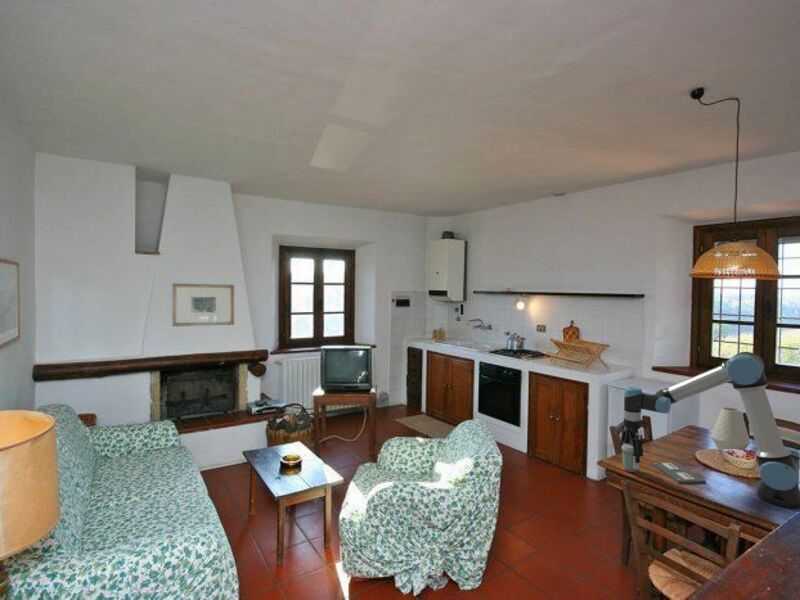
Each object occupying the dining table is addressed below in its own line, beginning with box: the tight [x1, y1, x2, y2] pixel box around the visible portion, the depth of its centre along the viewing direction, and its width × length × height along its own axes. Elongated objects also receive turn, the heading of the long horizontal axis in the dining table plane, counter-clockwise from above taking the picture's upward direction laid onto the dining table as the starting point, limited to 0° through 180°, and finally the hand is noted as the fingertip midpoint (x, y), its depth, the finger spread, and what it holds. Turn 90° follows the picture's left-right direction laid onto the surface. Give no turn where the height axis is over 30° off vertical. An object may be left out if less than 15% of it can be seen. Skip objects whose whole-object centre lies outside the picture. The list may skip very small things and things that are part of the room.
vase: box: [710, 406, 751, 451], centre depth 245 cm, size 17×17×23 cm
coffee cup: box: [621, 442, 638, 473], centre depth 218 cm, size 9×8×12 cm
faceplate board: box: [651, 462, 706, 484], centre depth 215 cm, size 20×13×2 cm, turn 2°
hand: (630, 464), depth 218 cm, fingers closed on coffee cup, 8 cm apart
